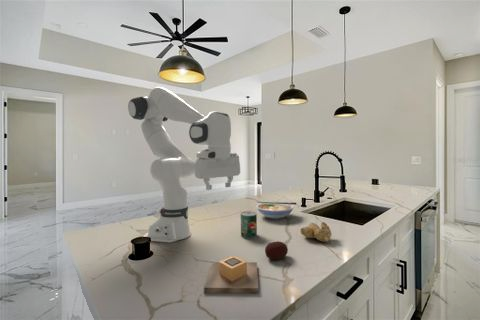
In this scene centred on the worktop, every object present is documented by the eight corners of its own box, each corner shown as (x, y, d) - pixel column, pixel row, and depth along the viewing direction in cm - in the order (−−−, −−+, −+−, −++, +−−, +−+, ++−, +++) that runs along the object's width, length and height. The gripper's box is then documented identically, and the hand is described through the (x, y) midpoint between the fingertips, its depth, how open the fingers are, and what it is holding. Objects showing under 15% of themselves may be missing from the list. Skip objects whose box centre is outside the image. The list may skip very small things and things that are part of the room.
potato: (260, 257, 93) (260, 242, 92) (280, 251, 98) (280, 236, 98) (272, 265, 86) (272, 248, 86) (293, 258, 92) (293, 242, 91)
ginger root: (321, 246, 99) (318, 225, 101) (293, 243, 113) (290, 225, 114) (344, 239, 108) (341, 220, 110) (316, 237, 122) (313, 220, 123)
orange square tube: (231, 281, 73) (231, 268, 73) (219, 273, 78) (219, 261, 78) (246, 273, 77) (246, 261, 77) (233, 267, 82) (233, 255, 82)
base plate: (204, 292, 70) (203, 274, 70) (212, 266, 86) (212, 251, 86) (258, 293, 69) (258, 274, 69) (256, 266, 85) (256, 251, 85)
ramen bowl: (250, 221, 139) (250, 207, 139) (259, 211, 161) (259, 199, 161) (294, 224, 132) (294, 210, 132) (296, 214, 154) (296, 201, 154)
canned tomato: (255, 239, 112) (255, 216, 111) (239, 238, 113) (239, 215, 113) (257, 233, 120) (257, 211, 119) (242, 232, 121) (242, 211, 121)
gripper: (234, 152, 102) (233, 184, 103) (192, 153, 89) (192, 189, 90) (244, 153, 98) (243, 186, 99) (202, 153, 84) (201, 192, 85)
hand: (218, 188), depth 94 cm, fingers open, 8 cm apart
